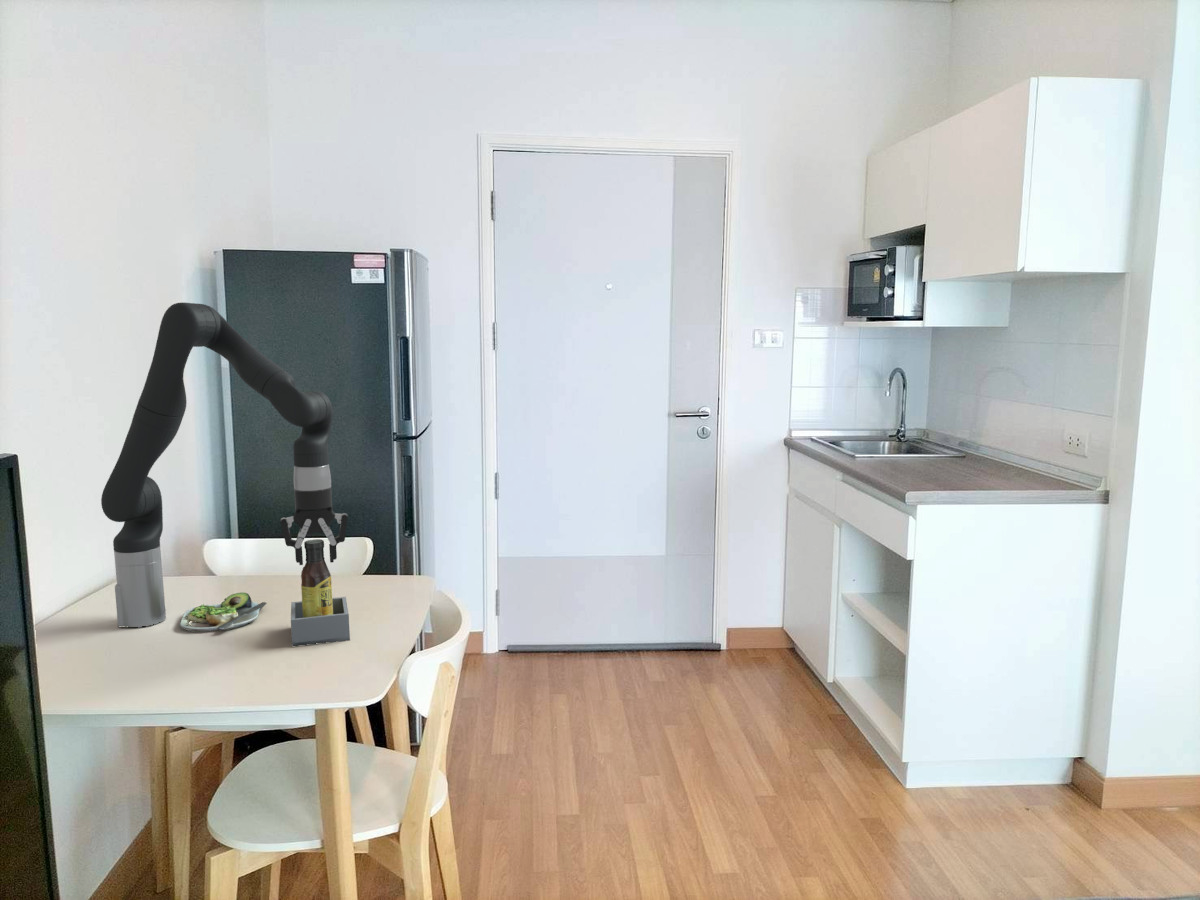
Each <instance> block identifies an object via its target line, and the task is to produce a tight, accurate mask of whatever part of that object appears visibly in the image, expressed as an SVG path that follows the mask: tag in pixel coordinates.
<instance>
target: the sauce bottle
mask: <svg viewBox="0 0 1200 900" xmlns="http://www.w3.org/2000/svg"><path fill="white" fill-rule="evenodd" d="M303 544H304V549H305V565H304V566H303V568H302V570H301V575H300V577H301V578H300V579H301V584H300V585H301V587H300V589H301V601H302V609H303V618H306V617H315V616H324V615H333V603H332V598H333V588H332V587H333V585H332V575H331V572H330V570H329V567H328V565H327V563H326V561H325V554H324V552H325V551H324V548H325V541H324V540H323V539H320V538H319V539H318V538H317V539H309V540H308V539H307V540H305V541H303Z"/></svg>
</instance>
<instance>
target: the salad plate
mask: <svg viewBox="0 0 1200 900" xmlns="http://www.w3.org/2000/svg"><path fill="white" fill-rule="evenodd" d="M266 605H267V602H266V601H262V602H260V603H258V602H255V601H252V598H251V596H250V594H249V593H247V592H236V593H232V594H230V595H228V596H227V597H225V598H224V601H222V602H221V603H217V604H206V605H205V604H201V605H199V606H195V607H192V608H190V609H188V610H186V611H185V612H184V613H183V614H182V617H181V620H180V624H179V627H180V628H181V629H183V630H186V631H188V632H191V631H192V633H212V631H213V632H221V631H222V632H223V631H224V630H225V631H229V629H230V630H233V629H236V628H240V627H243V626H246V625H248V623H249V624H250V623H252V622H253V623H254V622H255V620H256V619H257V618H258V617H259V612H260V611H261V610H262V609H263V608H264V607H265V606H266ZM190 621H196V622H195V623H200V622H208V623H207V624H209V626H205V627H201V626H200V627H199V626H193V625H192V626H193V627H192V626H191V625H190V624H189V622H190ZM210 625H211V626H212V627H211V626H210Z"/></svg>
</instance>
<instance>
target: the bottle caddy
mask: <svg viewBox="0 0 1200 900" xmlns="http://www.w3.org/2000/svg"><path fill="white" fill-rule="evenodd" d="M332 603H333V615H324V616H315V617H306V618H303V609H302V600H300V601H291V603H290V605H291V606H290V627H291V628H290V631H291V632H290V633H291V646H297V647H299V646H298V645H305V646H308V645H307V644H313V645H317V644H316V643H322V644H327V643H326V642H330V643H336V641H339V642H347V641H351V637H350V636H351V635H350V613H349V608H348V602H347V596H340V597H332ZM346 640H347V641H346Z"/></svg>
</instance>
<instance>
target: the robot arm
mask: <svg viewBox="0 0 1200 900" xmlns="http://www.w3.org/2000/svg"><path fill="white" fill-rule="evenodd" d="M157 334H158V335H157V340H156V344H155V347H154V351H153V352H154V353H153V357H152V361H151V363H150V367H149V369H148V372H147V373H148V374H147V376H146V379H145V382H144V386H143V388H142V391H141V394H140V396H139V399H138V402H137V405H136V406H135V407H136V408H135V410H134V413H133V416H132V419H131V423H130V426H129V429H128V431H127V435H126V437H125V440H124V442H123V445H122V447H121V448H122V449H121V452H120V454H119V455H118V458H117V461H116V463H115V465H114V467H113V469H112V471H111V473H110V475H109V478H108V479H107V481H106V484H105V486H104V487H103V489H102V493H101V499H100V501H101V503H100V504H101V505H100V506H101V508H102V511H103V514H104V515H105V517H106V518H108V519H109V520H110V521H112V522H116V523H123V526H122V528H121V530H120V531H119V532H118V533H117V534H116V535H115V536H114V538H113V541H112V543H113V545H112V546H113V552H114V553H113V555H114V567H115V577H116V578H115V579H116V584H115V585H114V594H115V605H116V617H117V627H118V626H128V627H138V628H143V627H142V626H146V627H149V626H148V625H151V626H154V625H157V624H160V623H162V622H164V621H165V620H166V619H165V618H167V613H166V611H167V609H166V602H165V587H164V575H163V565H162V562H163V561H162V551H161V536H162V534H163V531H164V530H163V527H164V521H163V518H164V517H163V514H164V513H163V499H162V498H163V497H162V493H161V489H160V487H159V485H158V484H157V482H156V480H154V479H153V478H151V477H150V476H149V473H150V471H151V469H152V468H153V466H154V465H155V463H156V461H158V459H159V458H160V457H161V456H162V455H163V453H164V452H165V451H166V450H167V448H168V447H169V446H170V445H171V443H172V442H173V440H174V439H175V437H176V436H177V434H178V431H179V429H180V427H181V424H182V422H183V419H184V415H185V413H186V411H187V410H186V409H187V393H186V389H185V388H186V387H185V381H184V372H185V368H186V364H187V361H188V359H189V356H190V354H191V352H192V349H193V348H195V347H197V348H202V347H204V348H207V349H209V350H211V351H213V352H215V353H216V354H218V355H219V356H221V357H223V358H224V359H225V360H227V362H229V364H230V365H231V366H232V367H233V368H234V370H235V372H236V373H237V374H238V376H239V378H240V379H241V380H242V381H243V382H244V383H245V384H246V385H248V387H250V388H251V389H252V390H254V392H256V393H258V394H259V395H260V396H262V397H263V398H265V399H266V400H267V401H269V402H270V404H271V405H272V407H274V409H275V410H276V411H277V412H278V414H279V415H280V416H281V417H282V418H283V419H284V420H286V421H287V422H288V423H290V424H292V425H294V426H296V427H299V428H301V434H300V436H299V437H297V438H296V439H295V441H293V446H292V447H293V448H292V452H293V453H292V454H293V490H294V491H293V492H294V493H293V494H294V513H293V515H291V516H287V517H285V516H283V517H281V518H280V526H281V531H282V534H283V539H284V543H285V545H286V547H290V548H291V547H293V549H294V552H295V553H294V554H295V562H296V563H298V565H299V566H303V565H304V559H303V558H304V557H303V545H302V544H303V543H304V540H305V539H306V538H305V537H306V535H310V534H315V533H317V534H323V533H324V535H325V536H326V538H327V540H328V542H329V562H330V563H331V564H332V563H334V560H337V558H338V557H337V545H338V544H340V543H344V542H345V540H346V534H347V533H346V532H347V528H348V518H349V517H348V513H346V512H343V513H336V512H335V511H334V509H333V497H332V496H333V495H332V493H333V492H332V477H331V468H330V462H329V459H330V458H329V457H330V456H329V439H330V436H331V430H332V424H333V415H334V410H333V406H332V405H333V404H332V402H331V400H330V398H329V397H328V396H327V395H326V394H325V393H324V392H322V391H318V390H315V391H314V390H313V391H306V392H303V391H300V390H299V389H298V388H297V387H296V380H295V378H293V376H292V375H291V374H290V373H289V372H288V371H286V370H285V369H283V368H282V367H281V366H279V365H278V364H277V363H275V362H273V361H272V360H270V359H269V357H267V356H265V355H264V354H263V353H262V352H260V351H259V350H258V349H256V348H255V347H254V346H253V345H252V344H250V342H248V341H247V339H245V338H244V337H243V336H242V335H241V334H240V333H239V332H238V331H237V330H236V329H235V328H234V327H233V326H232V325H231V324H230V323H229V322H228V321H227V320H226V318H225V317H223V316H222V315H221V314H220V313H219V312H218V311H217V310H216V309H215V308H213V307H212V306H210V305H207V304H204V303H194V302H192V303H191V302H176V303H173V304H171V305H170V306H169V307H167V309H166V311H164V314H163V316H162V318H161V321H160V325H159V329H158V333H157ZM335 519H336V521H337V524H338V525H339V524H340V525H339V530H338V531H339V532H338V535H337V536H334V534H333V531H332V530H331V527H330V525H331V524H332V523H333V521H334V520H335ZM293 522H294V523H295V524H296V525H297V526H298V527H299V528H300V529H299V532H298V534H297V537H296V539H292V535H291V530H290V528H291V527H292V526H293V525H292V523H293ZM164 619H165V620H164ZM163 620H164V621H163ZM159 622H160V623H159ZM153 624H154V625H153ZM128 627H127V628H128Z"/></svg>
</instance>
